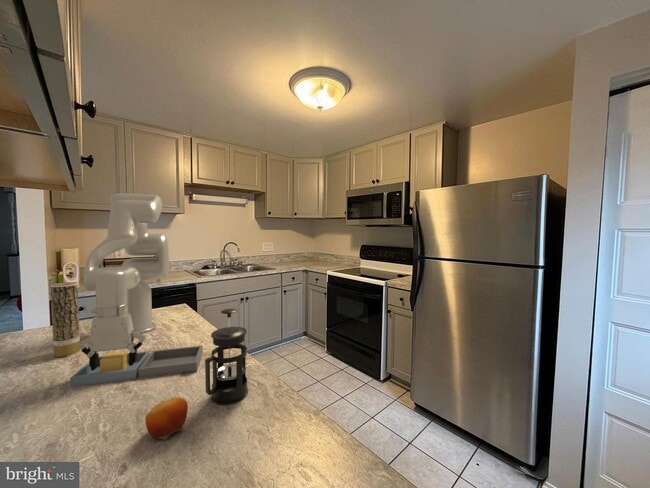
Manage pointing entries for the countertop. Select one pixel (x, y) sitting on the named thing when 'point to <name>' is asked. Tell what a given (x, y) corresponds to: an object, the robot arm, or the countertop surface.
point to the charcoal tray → (171, 361)
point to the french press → (227, 365)
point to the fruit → (167, 417)
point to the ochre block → (113, 362)
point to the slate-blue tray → (95, 376)
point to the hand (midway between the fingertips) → (114, 366)
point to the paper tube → (65, 318)
